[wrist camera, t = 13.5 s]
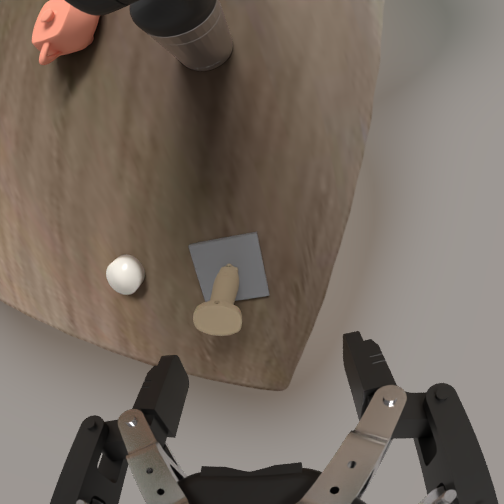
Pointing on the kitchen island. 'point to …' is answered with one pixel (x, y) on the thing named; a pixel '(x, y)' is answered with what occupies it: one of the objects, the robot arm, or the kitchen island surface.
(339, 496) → the robot arm
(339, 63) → the kitchen island surface
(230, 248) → the coaster
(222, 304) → the handle
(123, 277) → the white dome knob
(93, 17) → the teapot
